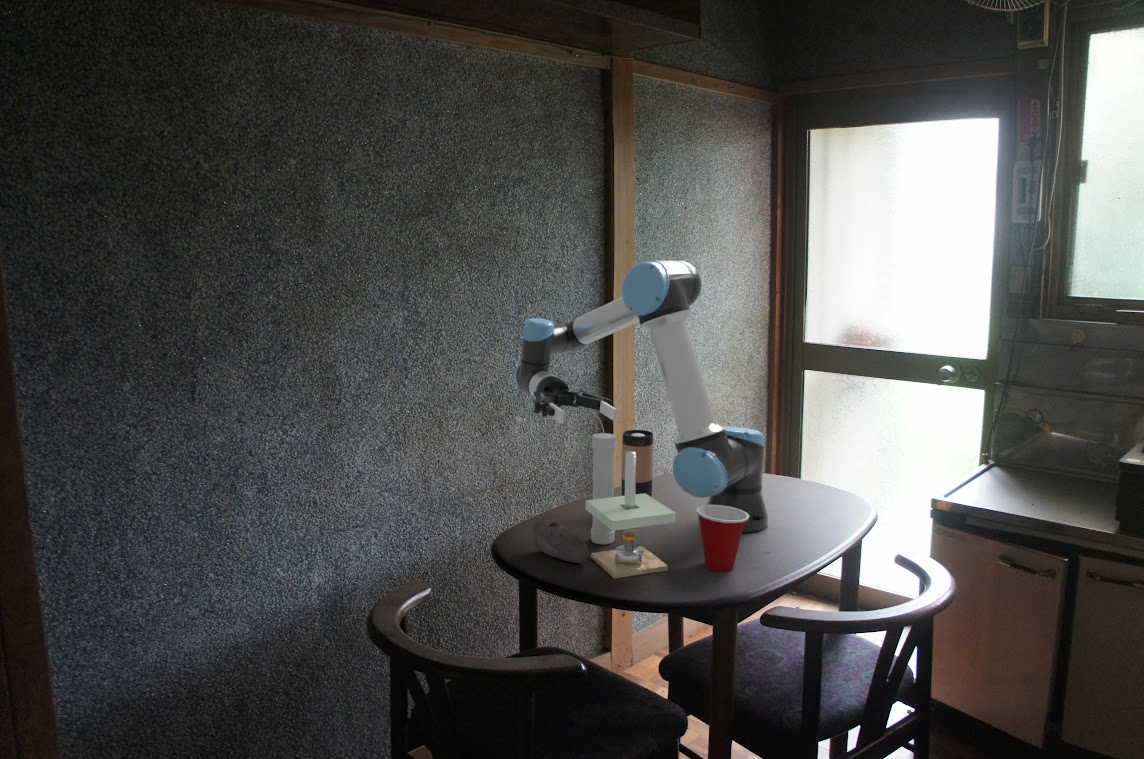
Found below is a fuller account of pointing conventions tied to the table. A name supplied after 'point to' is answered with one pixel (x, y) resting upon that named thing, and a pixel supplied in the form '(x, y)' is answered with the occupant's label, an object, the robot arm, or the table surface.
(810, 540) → the table surface
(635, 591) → the table surface
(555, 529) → the perforated stone tool
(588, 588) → the table surface
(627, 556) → the post stand
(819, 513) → the table surface
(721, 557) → the plastic cup
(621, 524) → the pale mint square tile
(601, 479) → the pipe
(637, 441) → the travel mug
